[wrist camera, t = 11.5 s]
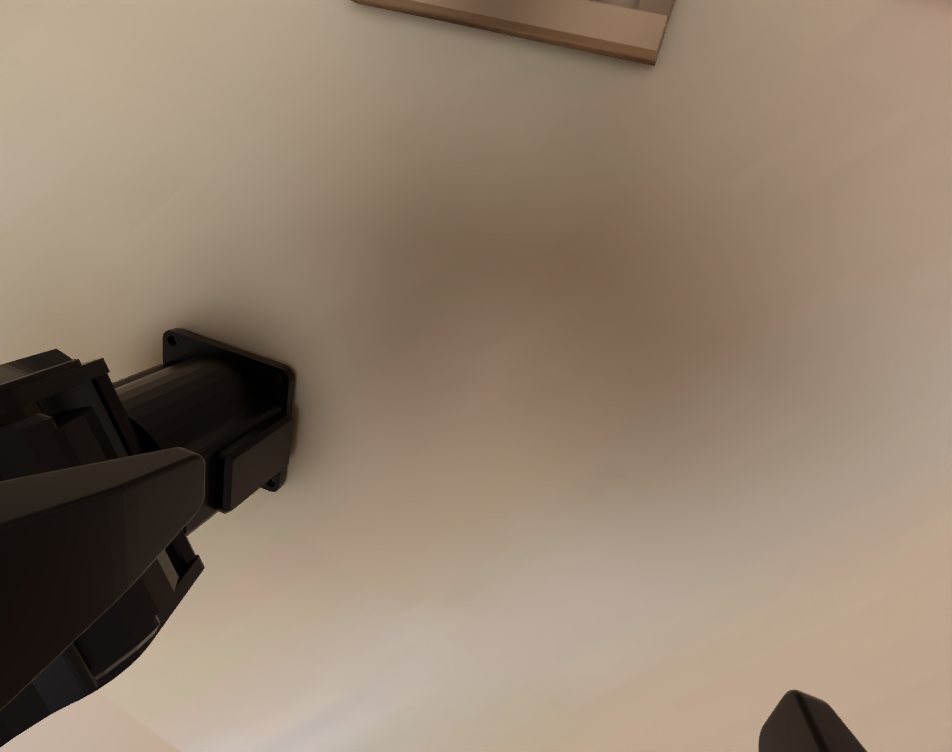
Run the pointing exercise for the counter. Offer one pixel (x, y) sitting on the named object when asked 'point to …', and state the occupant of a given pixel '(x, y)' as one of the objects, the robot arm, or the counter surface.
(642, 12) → the pebble tray
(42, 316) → the counter surface
